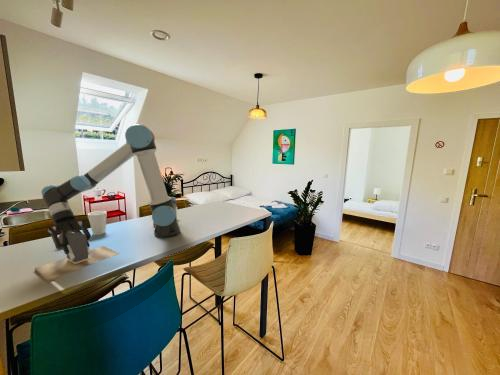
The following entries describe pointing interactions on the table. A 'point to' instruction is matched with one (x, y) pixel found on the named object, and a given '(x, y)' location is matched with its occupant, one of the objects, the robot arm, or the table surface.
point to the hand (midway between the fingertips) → (81, 256)
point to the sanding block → (77, 247)
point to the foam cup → (98, 222)
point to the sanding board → (67, 266)
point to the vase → (61, 236)
